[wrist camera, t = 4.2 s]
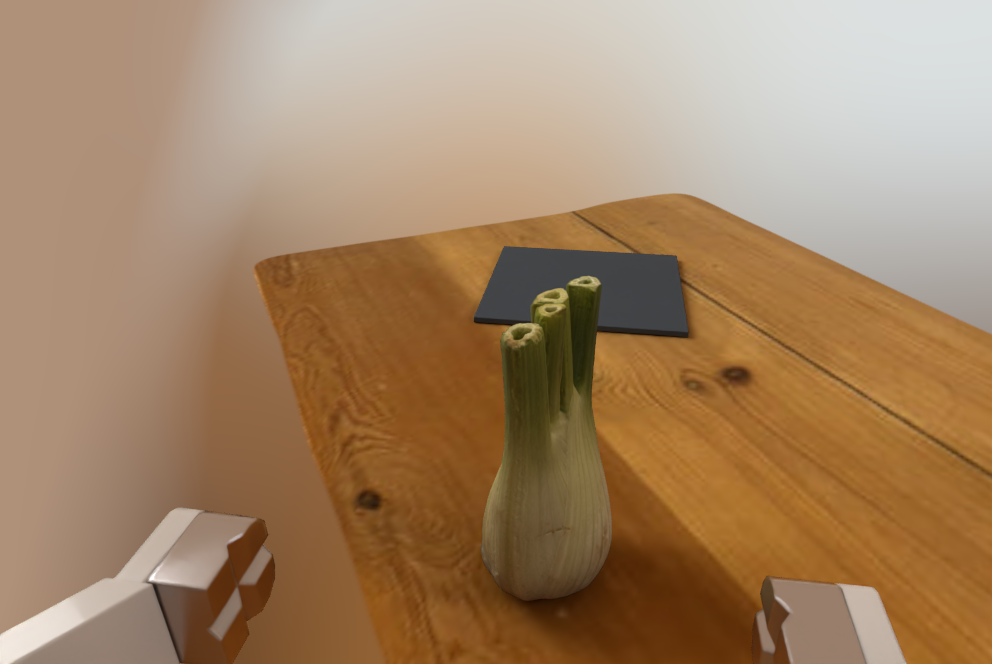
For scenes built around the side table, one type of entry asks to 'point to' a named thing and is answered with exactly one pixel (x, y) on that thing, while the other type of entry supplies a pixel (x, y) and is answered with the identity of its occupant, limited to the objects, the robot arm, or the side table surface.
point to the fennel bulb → (549, 453)
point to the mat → (624, 295)
